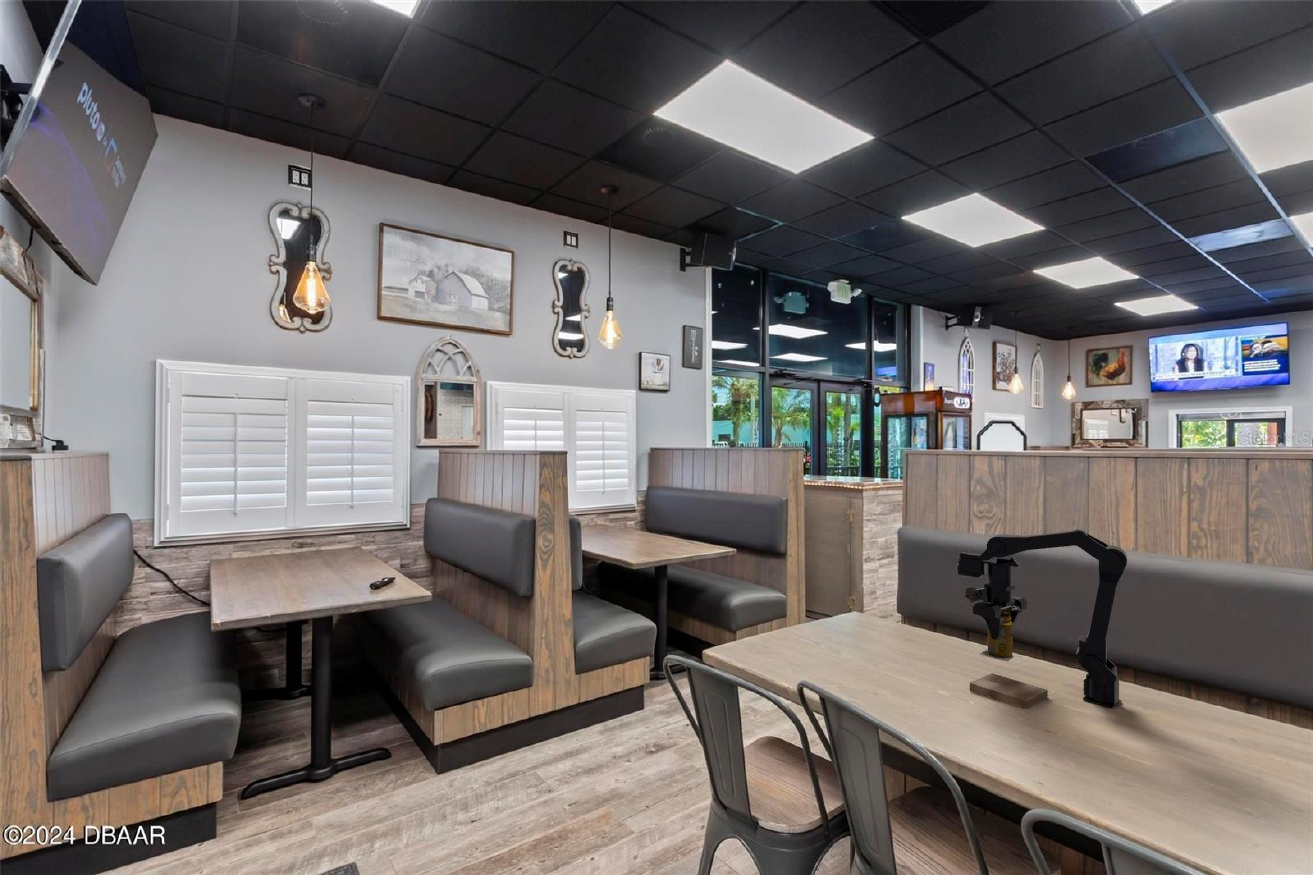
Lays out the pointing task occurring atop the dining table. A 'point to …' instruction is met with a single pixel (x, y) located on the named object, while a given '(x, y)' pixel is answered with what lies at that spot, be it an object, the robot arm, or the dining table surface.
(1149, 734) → the dining table surface
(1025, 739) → the dining table surface
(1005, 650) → the condiment
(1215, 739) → the dining table surface
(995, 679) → the stand
